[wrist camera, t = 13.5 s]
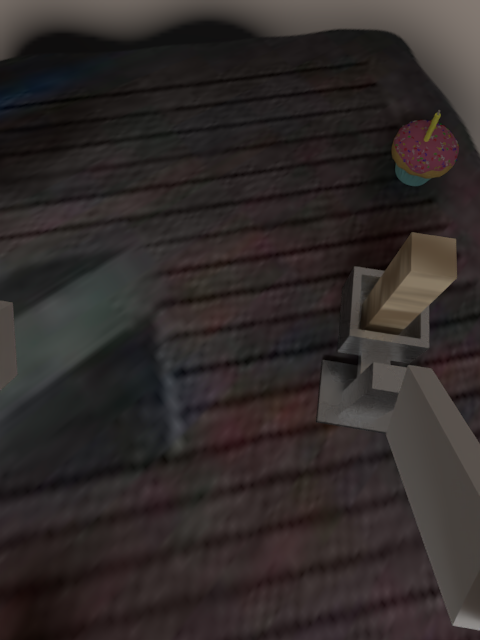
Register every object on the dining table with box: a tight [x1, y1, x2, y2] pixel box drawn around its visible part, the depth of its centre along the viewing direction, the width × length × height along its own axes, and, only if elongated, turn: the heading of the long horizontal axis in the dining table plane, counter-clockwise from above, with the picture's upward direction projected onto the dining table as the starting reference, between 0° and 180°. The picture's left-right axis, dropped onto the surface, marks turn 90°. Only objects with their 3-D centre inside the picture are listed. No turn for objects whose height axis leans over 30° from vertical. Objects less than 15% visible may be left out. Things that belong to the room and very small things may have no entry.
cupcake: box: [392, 110, 459, 186], centre depth 58 cm, size 9×8×12 cm
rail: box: [360, 232, 457, 335], centre depth 42 cm, size 4×4×14 cm
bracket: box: [316, 266, 429, 433], centre depth 47 cm, size 14×9×12 cm, turn 171°
